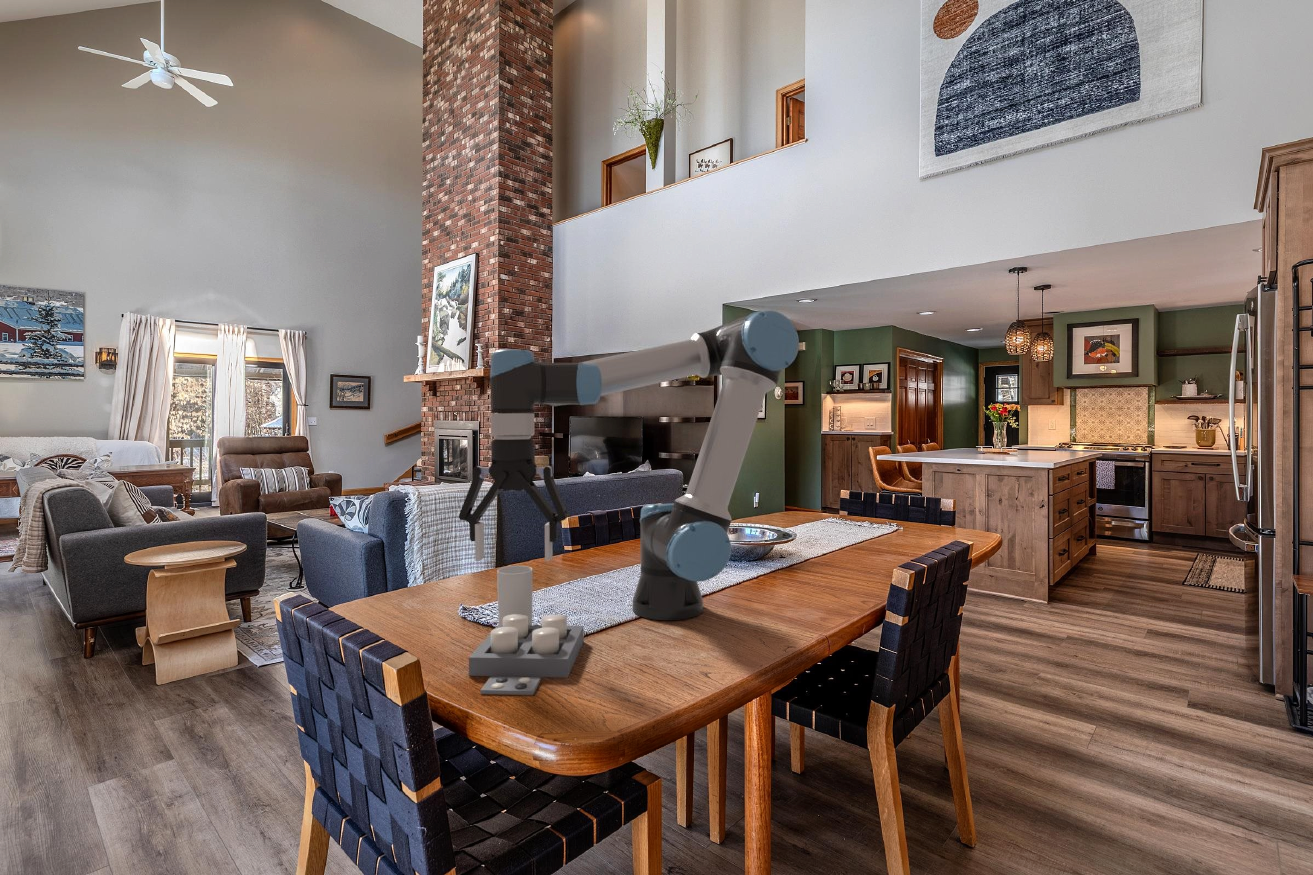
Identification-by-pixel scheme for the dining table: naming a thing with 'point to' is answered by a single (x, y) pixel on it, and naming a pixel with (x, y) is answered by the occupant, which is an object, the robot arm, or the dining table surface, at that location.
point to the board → (528, 657)
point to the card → (511, 685)
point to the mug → (515, 591)
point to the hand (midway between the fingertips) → (514, 559)
